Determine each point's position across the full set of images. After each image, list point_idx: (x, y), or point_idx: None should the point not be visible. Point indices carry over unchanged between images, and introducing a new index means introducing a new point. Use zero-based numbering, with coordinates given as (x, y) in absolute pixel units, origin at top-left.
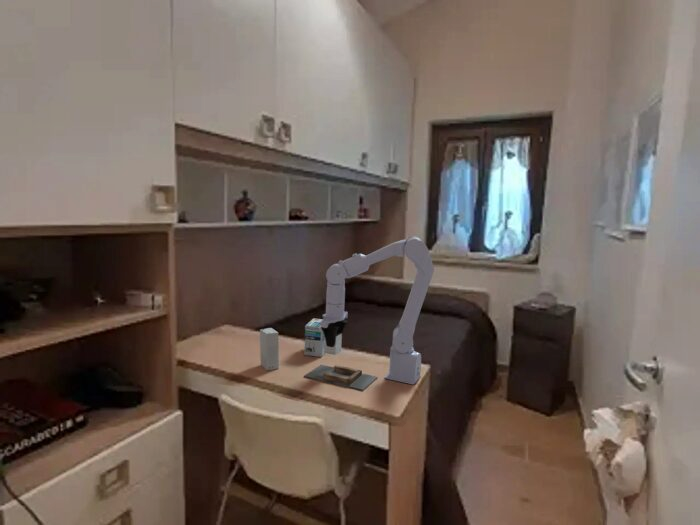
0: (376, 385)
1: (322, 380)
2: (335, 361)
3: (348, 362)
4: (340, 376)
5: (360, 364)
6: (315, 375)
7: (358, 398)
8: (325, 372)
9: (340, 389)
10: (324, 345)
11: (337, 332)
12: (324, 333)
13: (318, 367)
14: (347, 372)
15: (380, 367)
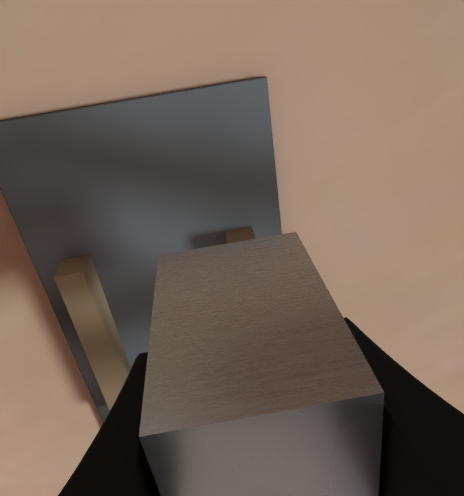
0: None
1: (39, 273)
2: (414, 109)
3: (439, 197)
4: (110, 372)
5: (439, 272)
6: (55, 191)
7: (42, 478)
8: (83, 276)
9: (47, 390)
10: (154, 305)
11: (386, 477)
12: None
13: (196, 104)
14: None
15: (444, 366)
